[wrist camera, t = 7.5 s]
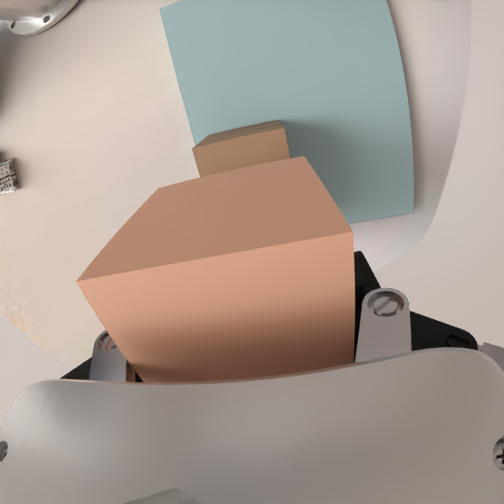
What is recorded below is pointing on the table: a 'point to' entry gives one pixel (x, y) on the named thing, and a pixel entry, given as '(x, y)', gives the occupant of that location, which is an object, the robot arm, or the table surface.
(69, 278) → the table surface
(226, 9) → the board
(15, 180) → the miniature building cluster
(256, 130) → the walnut brick
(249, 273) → the terracotta brick
